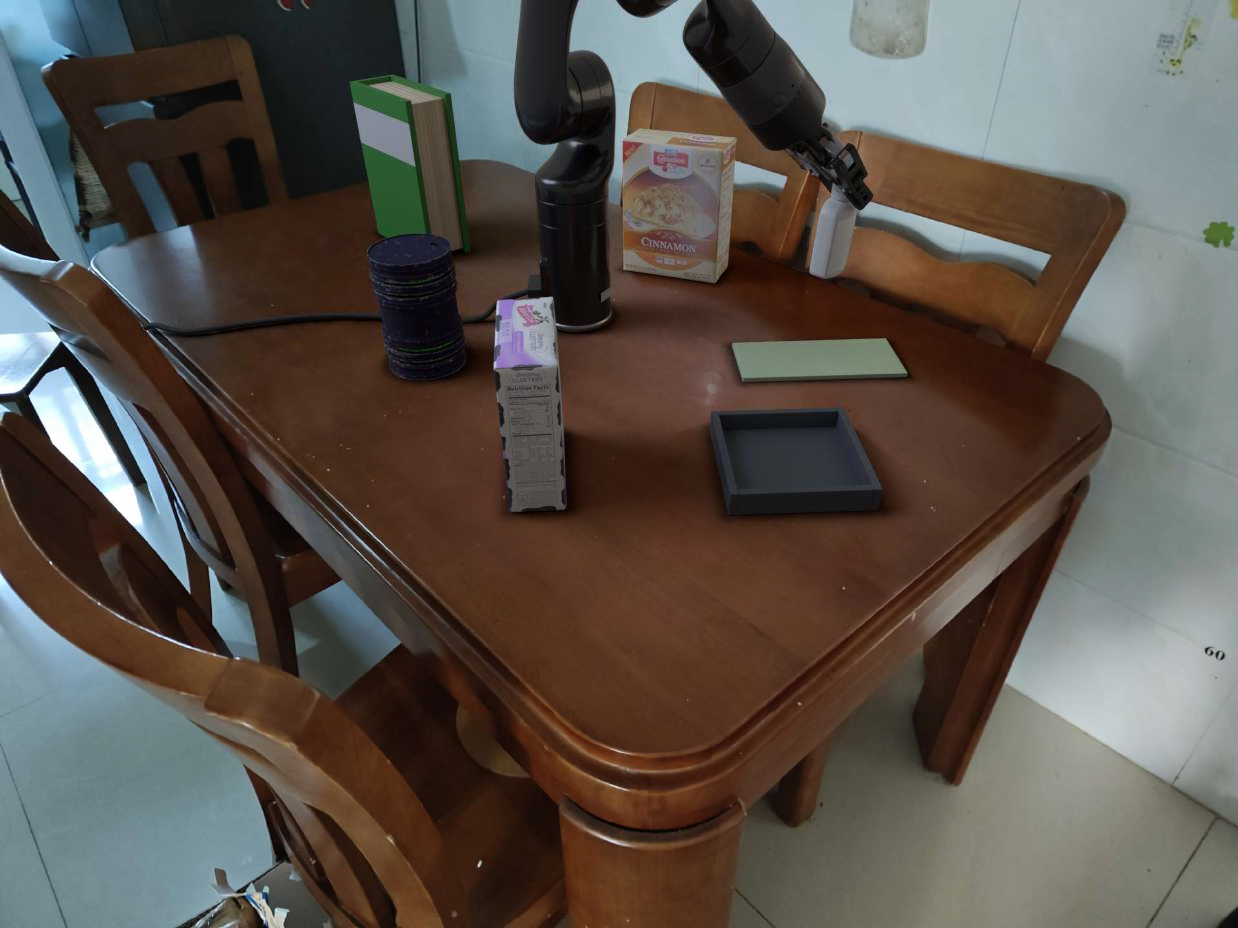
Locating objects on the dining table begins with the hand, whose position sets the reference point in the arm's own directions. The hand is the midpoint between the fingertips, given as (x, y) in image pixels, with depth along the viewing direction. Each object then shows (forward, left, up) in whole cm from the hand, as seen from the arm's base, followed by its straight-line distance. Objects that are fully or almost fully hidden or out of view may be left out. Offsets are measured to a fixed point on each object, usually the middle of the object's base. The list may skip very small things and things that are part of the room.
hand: (853, 197), depth 91 cm
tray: (-10, -22, -21) cm, 32 cm away
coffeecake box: (-17, +30, -21) cm, 40 cm away
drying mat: (-2, 0, -21) cm, 21 cm away
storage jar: (-51, +3, -21) cm, 55 cm away
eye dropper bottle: (-2, -1, -8) cm, 9 cm away
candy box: (-36, -21, -21) cm, 46 cm away
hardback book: (-58, +44, -21) cm, 75 cm away
